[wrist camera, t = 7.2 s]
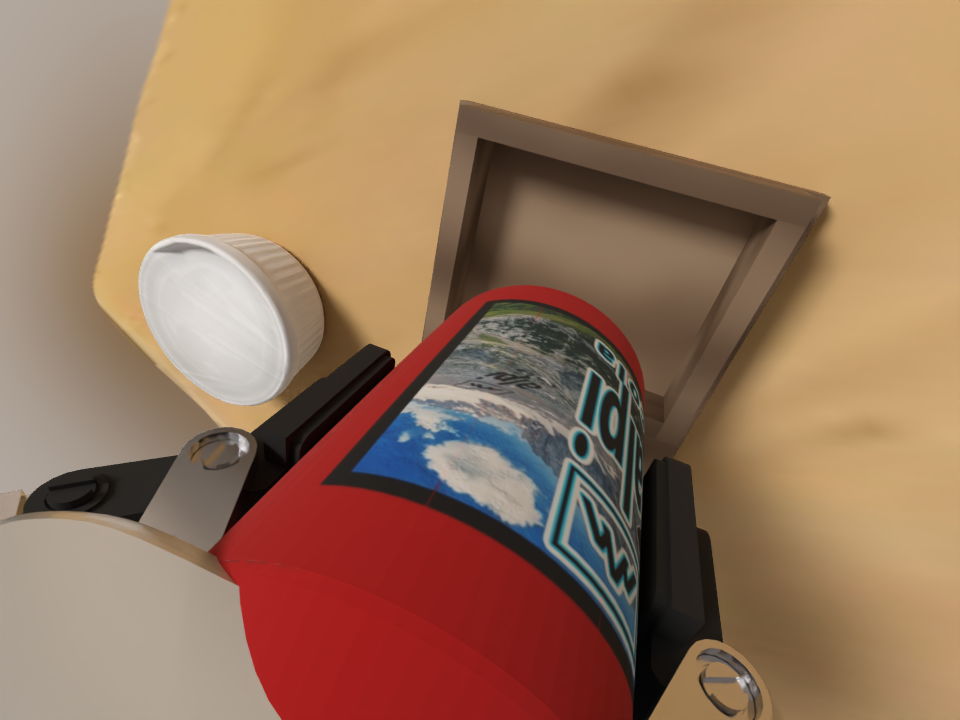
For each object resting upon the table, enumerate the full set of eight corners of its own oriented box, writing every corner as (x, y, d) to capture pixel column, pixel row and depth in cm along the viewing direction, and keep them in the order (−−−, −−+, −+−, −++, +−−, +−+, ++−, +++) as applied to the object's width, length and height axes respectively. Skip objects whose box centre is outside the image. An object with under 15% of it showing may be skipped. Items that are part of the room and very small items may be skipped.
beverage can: (688, 420, 14) (770, 1233, 4) (511, 479, 17) (312, 981, 7) (571, 229, 12) (208, 724, 2) (404, 336, 16) (-27, 718, 6)
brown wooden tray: (467, 100, 22) (438, 98, 19) (823, 193, 19) (852, 208, 16) (402, 492, 36) (379, 525, 33) (594, 578, 34) (588, 622, 31)
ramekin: (331, 230, 28) (269, 252, 23) (348, 384, 33) (300, 425, 29) (189, 208, 31) (110, 224, 26) (227, 353, 36) (167, 386, 32)
